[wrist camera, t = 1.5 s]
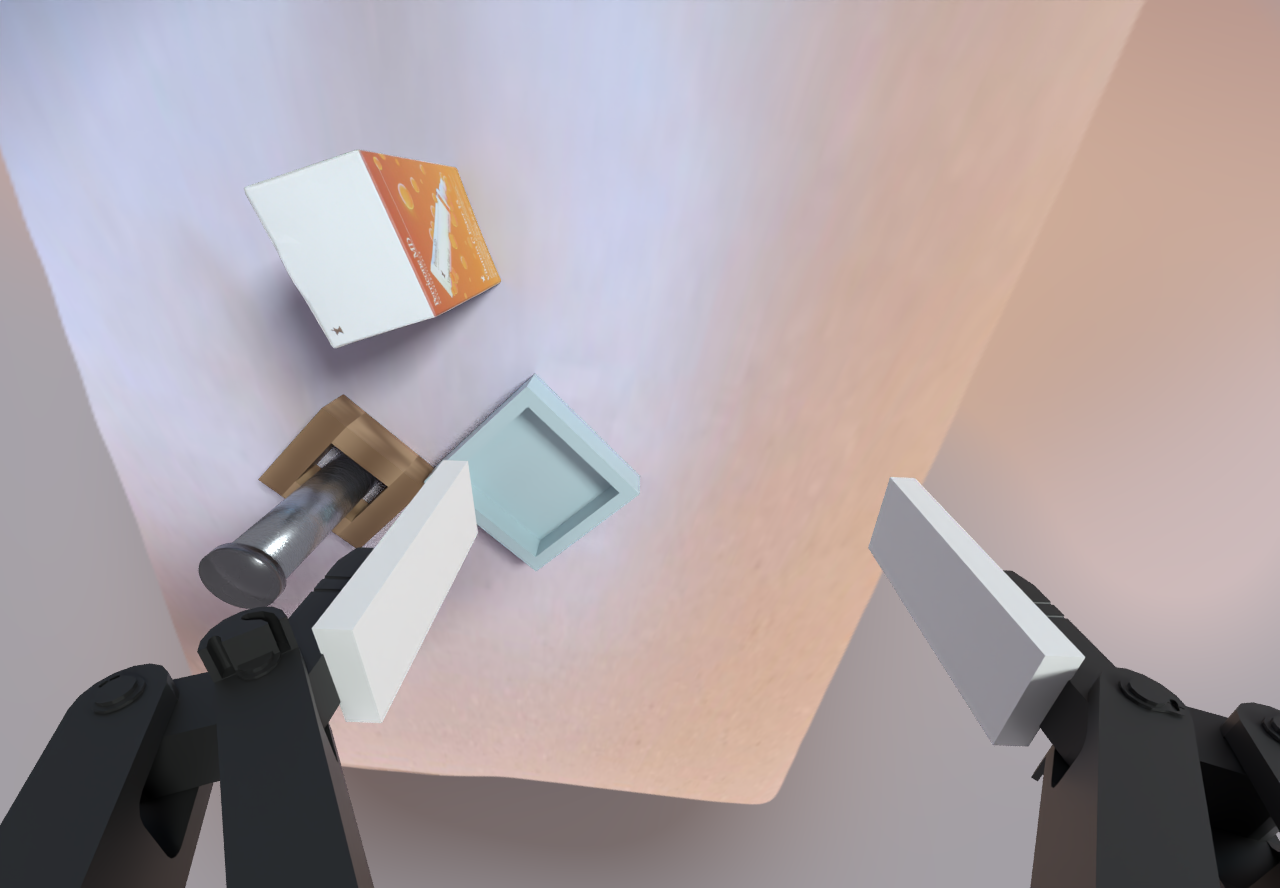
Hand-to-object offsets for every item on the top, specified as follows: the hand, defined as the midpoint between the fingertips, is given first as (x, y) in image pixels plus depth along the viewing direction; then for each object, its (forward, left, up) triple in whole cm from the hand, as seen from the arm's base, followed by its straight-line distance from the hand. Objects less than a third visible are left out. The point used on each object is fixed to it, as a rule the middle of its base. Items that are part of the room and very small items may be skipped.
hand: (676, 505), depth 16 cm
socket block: (-8, -29, -25) cm, 39 cm away
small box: (-15, -8, -26) cm, 31 cm away
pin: (-8, -29, -25) cm, 39 cm away
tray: (+3, -17, -25) cm, 31 cm away
